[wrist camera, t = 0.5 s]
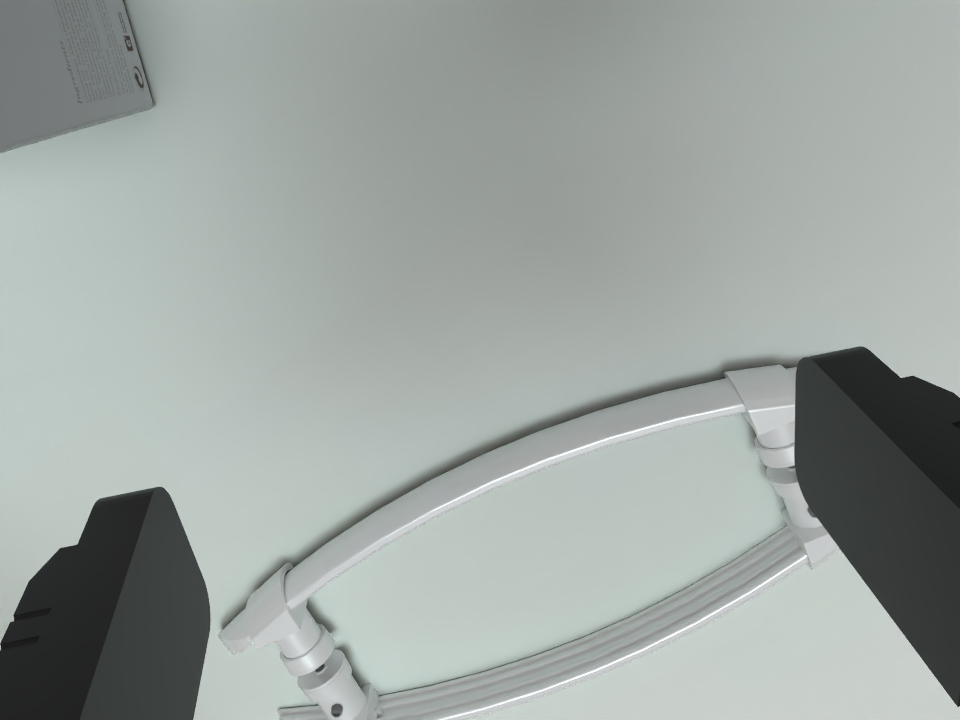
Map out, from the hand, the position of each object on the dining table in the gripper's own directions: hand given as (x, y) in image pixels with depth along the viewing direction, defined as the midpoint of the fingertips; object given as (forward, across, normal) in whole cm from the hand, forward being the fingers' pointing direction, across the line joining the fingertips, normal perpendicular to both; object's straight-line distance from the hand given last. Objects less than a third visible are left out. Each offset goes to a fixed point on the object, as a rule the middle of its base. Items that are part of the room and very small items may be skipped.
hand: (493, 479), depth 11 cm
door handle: (+17, -2, +16) cm, 23 cm away
